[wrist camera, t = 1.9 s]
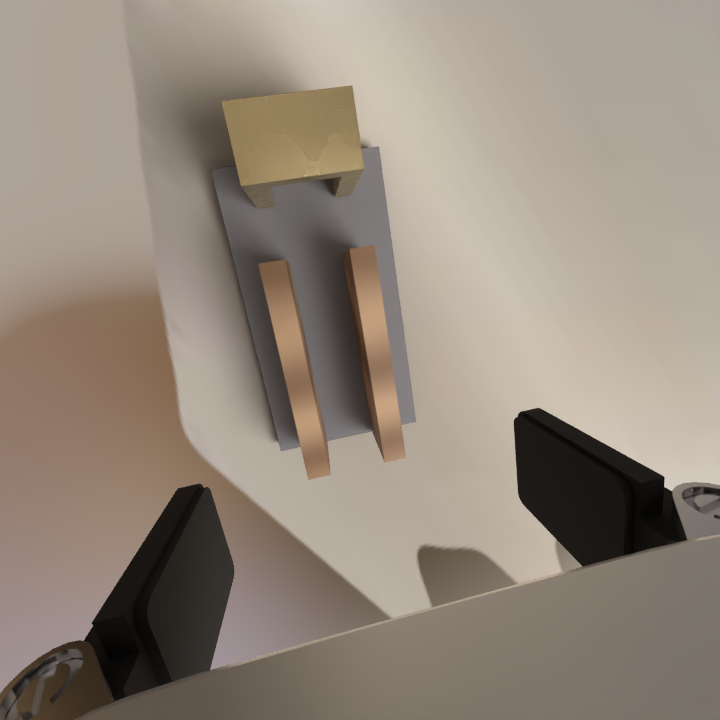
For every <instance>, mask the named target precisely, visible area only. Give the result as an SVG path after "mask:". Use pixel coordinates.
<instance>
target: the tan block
mask: <svg viewBox="0 0 720 720" xmlns="http://www.w3.org/2000/svg"><path fill="white" fill-rule="evenodd" d="M221 102H222V106H223V111H224V115H225V119H226V124H227V128H228V132H229V137H230V141H231V145H232V150H233V154H234V158H235V163H236V167H237V171H238V176H239V180H240V184H241V187H242V188H243V190H244V191H245V192H246V194H247V195H248V196H249V198H250V199H251V200H252V202H253V203H254V204H255V206H256V207H257V208H258V209H261V208H268V207H275V205H274V200H273V195H272V190H271V187H274V186H281V185H287V184H294V183H301V182H308V181H315V180H322V179H329V178H332V182H333V187H334V193H335V197H342V196H348V195H352V193H353V191H354V189H355V186H356V184H357V182H358V180H359V178H360V176H361V174H362V172H363V170H364V163H363V156H362V149H361V142H360V136H359V129H358V122H357V115H356V108H355V102H354V95H353V88H352V86H344V87H336V88H327V89H319V90H311V91H302V92H294V93H285V94H277V95H268V96H260V97H252V98H243V99H235V100H226V101H221Z"/></svg>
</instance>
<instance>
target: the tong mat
mask: <svg viewBox="0 0 720 720" xmlns="http://www.w3.org/2000/svg"><path fill="white" fill-rule="evenodd" d="M362 156H363V163H364V170H363V172H362V174H361V176H360V178H359V180H358V182H357V184H356V186H355V189H354V191H353V193H352V195H348V196H342V197H335V193H334V187H333V182H332V178H329V179H322V180H315V181H308V182H301V183H294V184H287V185H281V186H274V187H271V190H272V195H273V200H274V205H275V207H268V208H261V209H258V208H257V207H256V206H255V204H254V203H253V202H252V200H251V199H250V198H249V196H248V195H247V194H246V192H245V191H244V190H243V188H242V187H241V184H240V180H239V176H238V171H237V167H236V166H232V167H225V168H218V169H211V172H212V176H213V180H214V184H215V188H216V192H217V196H218V200H219V204H220V208H221V212H222V217H223V221H224V225H225V229H226V233H227V237H228V241H229V245H230V249H231V253H232V257H233V261H234V265H235V269H236V273H237V277H238V281H239V285H240V289H241V293H242V297H243V301H244V305H245V309H246V313H247V317H248V321H249V325H250V329H251V333H252V337H253V341H254V345H255V349H256V353H257V357H258V361H259V365H260V369H261V373H262V377H263V381H264V385H265V389H266V393H267V397H268V401H269V405H270V409H271V413H272V417H273V421H274V425H275V429H276V433H277V437H278V441H279V445H280V449H281V451H284V450H288V449H293V448H297V447H301V445H300V441H299V437H298V433H297V428H296V424H295V420H294V415H293V411H292V407H291V402H290V398H289V394H288V389H287V385H286V381H285V376H284V372H283V368H282V364H281V359H280V355H279V351H278V346H277V342H276V338H275V333H274V329H273V325H272V320H271V316H270V312H269V307H268V303H267V299H266V295H265V290H264V286H263V282H262V277H261V273H260V269H259V264H261V263H267V262H273V261H279V260H286V261H287V262H289V263H290V267H291V272H292V277H293V281H294V286H295V291H296V296H297V301H298V305H299V310H300V315H301V320H302V324H303V329H304V334H305V339H306V344H307V348H308V353H309V358H310V363H311V367H312V372H313V377H314V382H315V386H316V391H317V396H318V401H319V406H320V410H321V415H322V420H323V425H324V429H325V434H326V439H327V441H329V440H334V439H339V438H343V437H348V436H352V435H357V434H362V433H366V432H371V431H372V426H371V420H370V414H369V408H368V402H367V396H366V391H365V385H364V379H363V373H362V367H361V361H360V356H359V350H358V344H357V338H356V332H355V326H354V320H353V315H352V309H351V303H350V297H349V291H348V285H347V280H346V274H345V268H344V262H343V256H342V254H343V253H345V252H346V251H347V250H349V249H352V248H358V247H364V246H370V245H375V251H376V258H377V264H378V271H379V278H380V285H381V292H382V298H383V305H384V312H385V319H386V326H387V332H388V339H389V346H390V353H391V359H392V366H393V373H394V380H395V387H396V393H397V400H398V407H399V414H400V421H401V425H403V424H407V423H412V422H416V418H415V411H414V403H413V396H412V388H411V381H410V374H409V366H408V359H407V351H406V344H405V337H404V329H403V322H402V314H401V307H400V300H399V292H398V285H397V277H396V270H395V263H394V255H393V248H392V240H391V233H390V226H389V218H388V211H387V203H386V196H385V189H384V181H383V174H382V166H381V159H380V152H379V147H371V148H364V149H362Z"/></svg>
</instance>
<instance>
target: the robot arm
mask: <svg viewBox="0 0 720 720" xmlns="http://www.w3.org/2000/svg"><path fill="white" fill-rule="evenodd" d="M514 433H515V450H516V466H517V482H518V494H519V497H520V500H521V502H522V503H523V505H524V506H525V507H526V508H527V509H528V510H529V511H530V512H531V513H532V514H533V515H534V516H535V517H536V518H537V519H538V520H539V521H540V522H541V523H542V525H543V526H544V527H545V528H546V529H547V530H548V531H549V532H550V533H551V534H552V535H553V536H554V537H555V538H556V539H557V540H558V541H559V542H560V543H561V544H562V545H563V546H564V547H565V548H566V550H568V551H569V553H570V554H571V555H572V556H573V557H574V558H575V559H576V560H577V561H578V562H579V563H580V564H581V565H582V566H583V567H580V568H576V569H572V570H569V571H565V572H561V573H557V574H554V575H550V576H546V577H542V578H539V579H535V580H531V581H527V582H524V583H520V584H516V585H513V586H509V587H505V588H501V589H498V590H494V591H491V592H487V593H483V594H480V595H476V596H472V597H469V598H465V599H462V600H458V601H454V602H451V603H447V604H443V605H440V606H436V607H432V608H429V609H425V610H422V611H418V612H414V613H411V614H407V615H404V616H400V617H396V618H393V619H389V620H386V621H382V622H378V623H375V624H371V625H368V626H364V627H361V628H357V629H353V630H350V631H346V632H343V633H340V634H336V635H332V636H329V637H325V638H322V639H318V640H315V641H311V642H307V643H304V644H300V645H297V646H293V647H290V648H286V649H283V650H280V651H276V652H272V653H269V654H265V655H262V656H259V657H255V658H251V659H248V660H244V661H241V662H237V663H234V664H230V665H227V666H223V667H220V668H216V669H213V670H210V667H211V664H212V659H213V656H214V652H215V648H216V644H217V640H218V636H219V632H220V628H221V625H222V621H223V617H224V613H225V609H226V605H227V602H228V597H229V594H230V589H231V586H232V582H233V578H234V565H233V561H232V558H231V554H230V551H229V548H228V545H227V542H226V538H225V535H224V532H223V529H222V526H221V522H220V519H219V516H218V513H217V510H216V506H215V503H214V500H213V497H212V494H211V491H210V489H209V488H208V487H206V488H203V486H202V485H201V484H196V485H191V486H187V487H183V488H178V489H177V491H176V492H175V494H174V495H173V497H172V498H171V500H170V502H169V503H168V505H167V506H166V508H165V509H164V511H163V512H162V514H161V516H160V517H159V519H158V520H157V522H156V523H155V525H154V526H153V528H152V530H151V531H150V533H149V534H148V536H147V537H146V539H145V541H144V542H143V544H142V545H141V547H140V548H139V550H138V552H137V553H136V555H135V556H134V558H133V559H132V561H131V562H130V564H129V566H128V567H127V569H126V570H125V572H124V573H123V575H122V577H121V578H120V580H119V581H118V583H117V584H116V586H115V587H114V589H113V591H112V592H111V594H110V595H109V597H108V598H107V600H106V602H105V603H104V605H103V606H102V608H101V610H100V611H99V613H98V614H97V616H96V617H95V619H94V620H93V622H92V624H93V627H92V629H91V630H90V632H89V633H88V635H87V637H86V638H85V640H84V641H80V640H79V641H74V642H68V643H66V644H63V645H61V646H59V647H56V648H54V649H52V650H51V651H49V652H47V653H46V654H44V655H42V656H41V657H39V658H38V659H36V660H35V661H34V662H32V663H31V664H30V665H29V666H27V667H26V668H25V669H23V670H22V671H21V672H20V673H19V674H18V675H17V676H16V677H15V678H14V679H13V680H12V681H11V682H10V683H9V684H8V685H7V686H6V687H5V688H4V690H3V691H2V692H1V693H0V720H720V485H715V484H710V483H699V482H692V483H684V484H681V485H678V486H676V487H675V488H674V489H673V491H670V490H668V489H667V488H665V487H664V476H662V475H660V474H658V473H656V472H655V471H653V470H651V469H649V468H647V467H645V466H644V465H642V464H640V463H638V462H636V461H635V460H633V459H631V458H629V457H627V456H626V455H624V454H622V453H620V452H618V451H616V450H615V449H613V448H611V447H609V446H607V445H606V444H604V443H602V442H600V441H598V440H596V439H595V438H593V437H591V436H589V435H587V434H586V433H584V432H582V431H580V430H578V429H577V428H575V427H573V426H571V425H569V424H567V423H566V422H564V421H562V420H560V419H558V418H557V417H555V416H553V415H551V414H549V413H547V412H546V411H544V410H542V409H540V408H536V409H531V410H527V411H522V412H520V413H519V414H518V417H517V418H515V419H514Z"/></svg>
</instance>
